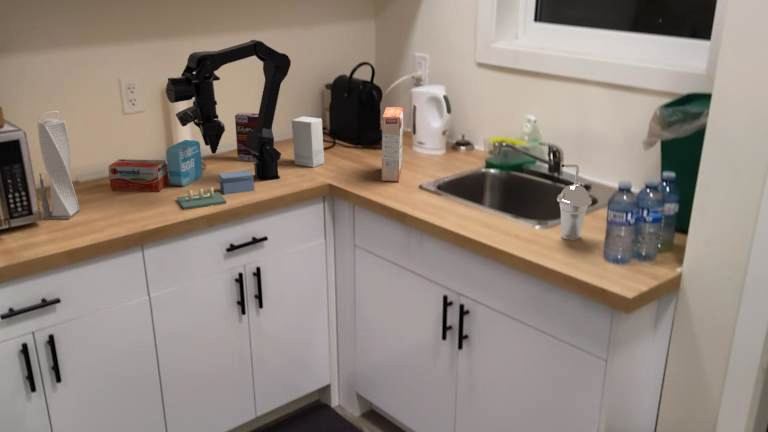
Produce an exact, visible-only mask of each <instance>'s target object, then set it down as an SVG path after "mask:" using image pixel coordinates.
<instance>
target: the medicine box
mask: <svg viewBox="0 0 768 432" xmlns="http://www.w3.org/2000/svg"><path fill="white" fill-rule="evenodd" d="M108 175H109V185H110V188H111V191H112V192H113V191H116V192H117V191H118V192H122V191H123V192H140V193H141V192H144V193H146V192H147V193H148V192H149V193H161V191H162V189H163V188H165V186H167V185H168V184H169V173H168V164H167V160H166V159H165V160H163V159H131V158H130V159H127V158H125V159H124V158H118V159H117V160H116V161H114V162H113V163H111V164H110V165H108Z"/></svg>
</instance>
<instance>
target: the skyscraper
mask: <svg viewBox="0 0 768 432" xmlns="http://www.w3.org/2000/svg"><path fill="white" fill-rule="evenodd" d="M52 113H56V117H55V118H53V117H52V118H51V117H50V118H46V119H44V121H41V120H42V119H43V117H45V116H47V115H49V114H52ZM59 116H60V111H59V110H51V111H50V110H49V111H47V112H44V113H43V114H41V115H40V116H39V117H38V120H37V121H36V122H37V132H38V141H39V150H40V154H41V159H42V161H43V165H44V168H45V171H46V173H47V175H48V176H47V177H48V178H49V181H50V184H49V185H50V186H49V187H50V200H51V201H50V203H51V204H49V200H48V196H47V189H46V188H45V185H44V179H43V178H42V173H39V174H38V175H39V184H40V189H39V192H40V196H41V202H42V203H41V207H42V210H43V217H42V220H46V221H48V220H51V221H52V220H54V221H55V220H56V221H57V220H58V221H69V220H71V219H72V218H73V217H74V216H75V215H77V214H78V213H79V212H80V211H81V209H80V205H79V202H78V198H77V195H76V191H75V188H74V185H73V182H72V178H71V176H70V174H71V165H72V156H71V155H72V153H71V144H70V138H69V133H68V128H67V124H66V121H65V120H59ZM50 205H51V211H50Z"/></svg>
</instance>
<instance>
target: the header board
mask: <svg viewBox="0 0 768 432" xmlns="http://www.w3.org/2000/svg"><path fill="white" fill-rule="evenodd" d="M176 199H177V201H178V203H179V205H180V207H181V208H182V209H183V211H185V210H192V209H199V208H204V207H212V206H211V205H213V206H219V205H226V204H227V200H226V199H225V197H224V196H223V194H221V192H220V191H214V187H213V186H210V187H208V192H205V193H204V189H203V188H198V194H193V190H192V189H188V190H187V195H183V196H178V197H176Z"/></svg>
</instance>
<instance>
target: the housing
mask: <svg viewBox="0 0 768 432" xmlns="http://www.w3.org/2000/svg"><path fill="white" fill-rule="evenodd" d="M218 179H219V189H220V191H223V195H232V194H239V193H246V192H253V191H255V184H254V181H255V180H254V174H253V173H252V172H251V171H250V170H249V169H246V170H245V169H244V170H238V171H231V172H223V173H218Z"/></svg>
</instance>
